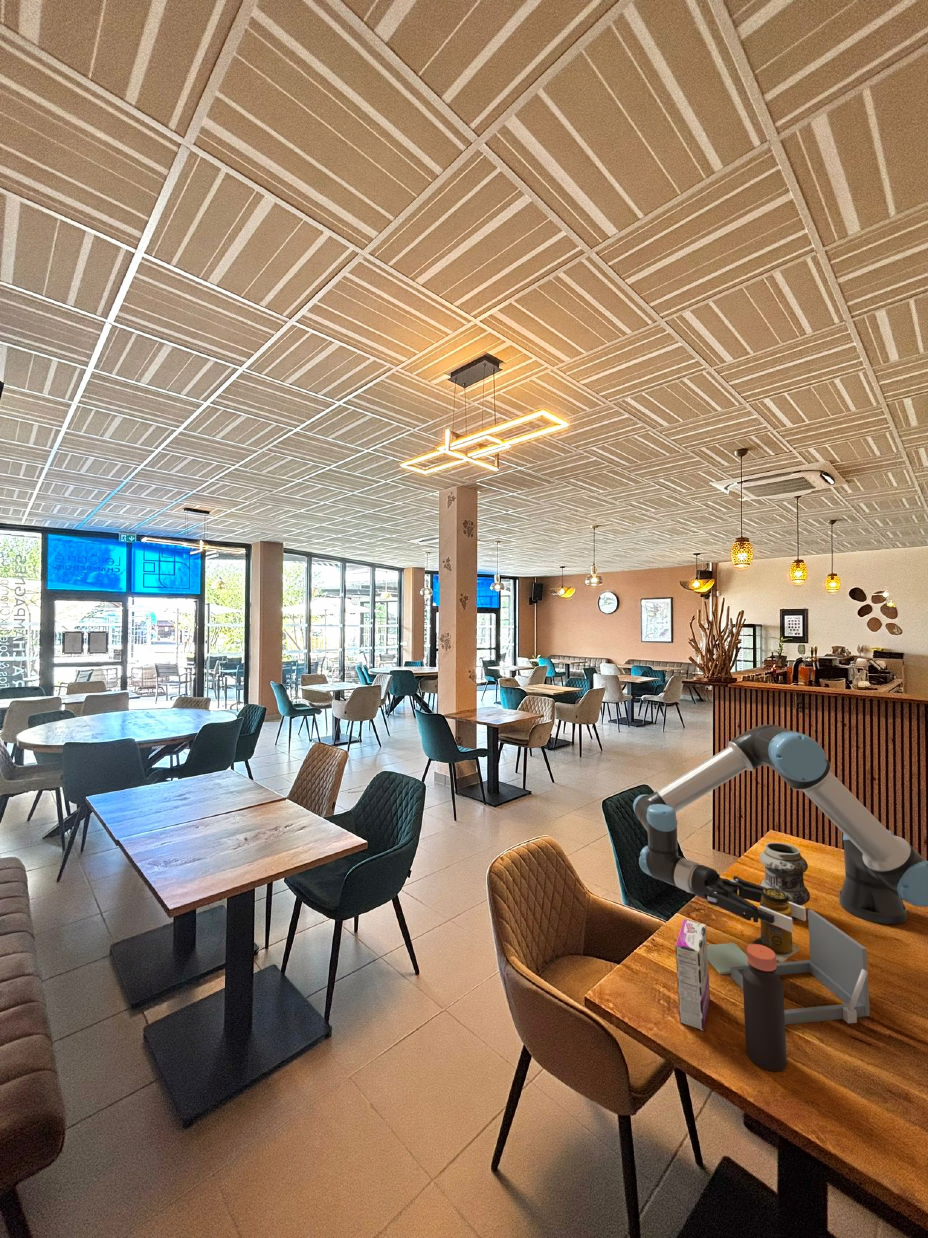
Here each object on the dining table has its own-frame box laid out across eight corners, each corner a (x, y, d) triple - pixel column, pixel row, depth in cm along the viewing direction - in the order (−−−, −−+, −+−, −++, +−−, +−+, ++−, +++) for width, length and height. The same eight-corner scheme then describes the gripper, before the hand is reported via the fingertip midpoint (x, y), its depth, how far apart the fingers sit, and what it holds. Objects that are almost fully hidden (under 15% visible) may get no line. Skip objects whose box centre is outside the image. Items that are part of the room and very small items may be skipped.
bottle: (772, 1042, 100) (767, 940, 101) (795, 1072, 94) (790, 962, 94) (738, 1044, 100) (733, 941, 101) (759, 1074, 93) (754, 964, 94)
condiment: (800, 949, 113) (798, 894, 113) (782, 963, 108) (780, 907, 109) (766, 933, 119) (764, 881, 120) (747, 946, 115) (745, 893, 115)
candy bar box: (686, 990, 115) (683, 917, 116) (710, 998, 113) (707, 924, 113) (677, 1023, 106) (674, 944, 106) (704, 1033, 103) (700, 951, 104)
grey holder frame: (814, 969, 121) (811, 909, 122) (875, 1020, 105) (871, 952, 105) (730, 976, 119) (728, 916, 120) (779, 1030, 103) (776, 961, 104)
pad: (734, 945, 131) (734, 942, 131) (760, 971, 121) (760, 968, 121) (697, 948, 130) (697, 946, 130) (720, 974, 120) (720, 972, 120)
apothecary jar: (792, 898, 152) (789, 838, 153) (821, 921, 140) (818, 856, 141) (752, 900, 152) (750, 840, 152) (778, 923, 140) (775, 858, 140)
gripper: (717, 882, 135) (817, 921, 116) (677, 907, 124) (779, 954, 105) (716, 854, 135) (815, 888, 116) (675, 876, 124) (778, 917, 105)
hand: (798, 919), depth 111 cm, fingers closed on condiment, 6 cm apart
